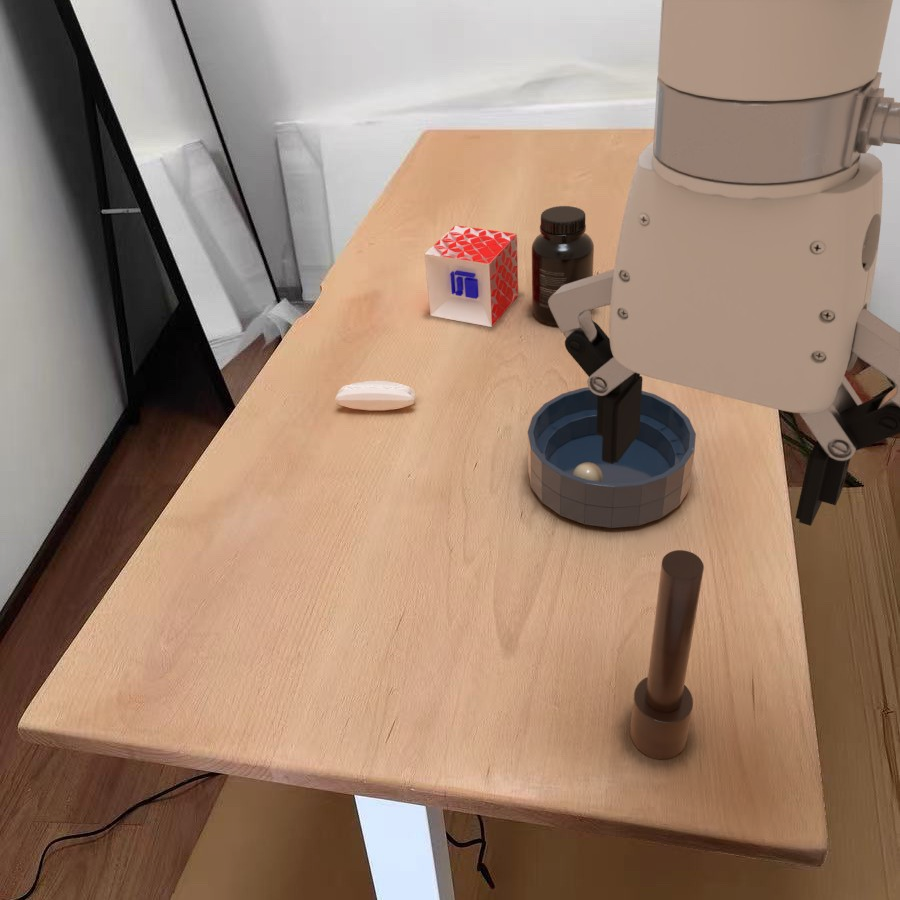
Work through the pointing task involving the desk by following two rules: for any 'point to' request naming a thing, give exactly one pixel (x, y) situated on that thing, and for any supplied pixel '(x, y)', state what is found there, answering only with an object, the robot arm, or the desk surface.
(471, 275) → the puzzle cube
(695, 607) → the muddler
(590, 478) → the ball
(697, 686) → the desk surface
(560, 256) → the supplement bottle
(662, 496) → the bowl
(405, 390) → the sandwich bun
